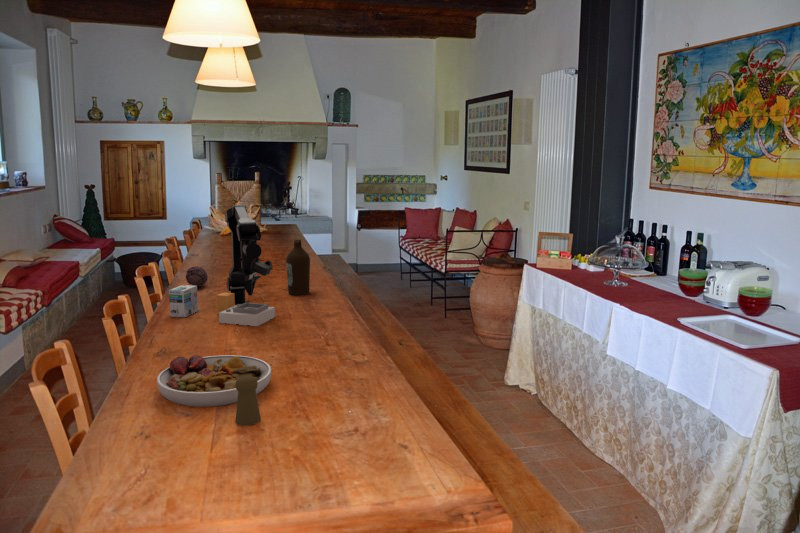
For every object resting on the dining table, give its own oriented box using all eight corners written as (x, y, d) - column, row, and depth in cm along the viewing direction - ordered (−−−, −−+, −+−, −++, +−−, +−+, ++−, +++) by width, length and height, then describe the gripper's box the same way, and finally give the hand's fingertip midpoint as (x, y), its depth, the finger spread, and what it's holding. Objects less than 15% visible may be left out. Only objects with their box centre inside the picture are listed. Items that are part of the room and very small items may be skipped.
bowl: (291, 378, 186) (290, 352, 184) (232, 418, 158) (230, 388, 157) (203, 366, 196) (202, 341, 194) (133, 402, 168) (130, 373, 166)
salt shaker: (248, 413, 160) (247, 371, 158) (266, 419, 157) (264, 376, 155) (230, 421, 156) (227, 378, 154) (247, 427, 152) (245, 383, 150)
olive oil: (307, 290, 298) (306, 236, 294) (313, 295, 289) (312, 239, 284) (284, 292, 294) (283, 238, 290) (290, 297, 284) (288, 241, 280)
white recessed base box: (238, 313, 256) (238, 300, 255) (275, 317, 251) (274, 303, 250) (219, 323, 242) (218, 308, 241) (257, 326, 238) (256, 312, 237)
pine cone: (209, 290, 298) (208, 268, 296) (187, 291, 295) (186, 270, 293) (206, 282, 314) (205, 262, 312) (185, 284, 311) (184, 263, 309)
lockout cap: (224, 311, 259) (223, 292, 258) (235, 312, 258) (234, 293, 256) (217, 314, 254) (216, 295, 253) (228, 315, 253) (227, 295, 252)
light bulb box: (185, 317, 250) (183, 290, 248) (169, 317, 251) (167, 290, 249) (199, 311, 260) (197, 285, 258) (183, 310, 261) (182, 284, 259)
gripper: (255, 259, 230) (257, 302, 233) (279, 252, 248) (281, 291, 251) (228, 258, 234) (230, 300, 236) (253, 250, 251) (255, 289, 254)
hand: (250, 295), depth 244 cm, fingers closed
